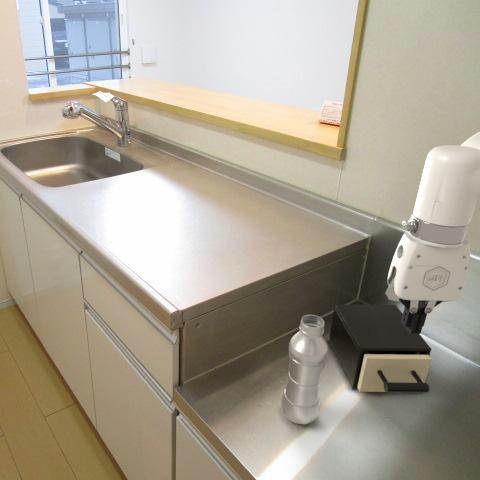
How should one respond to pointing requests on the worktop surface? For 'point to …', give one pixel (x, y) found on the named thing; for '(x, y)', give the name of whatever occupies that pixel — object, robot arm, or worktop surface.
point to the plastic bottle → (305, 371)
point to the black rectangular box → (369, 335)
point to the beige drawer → (394, 372)
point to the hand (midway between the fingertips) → (410, 328)
